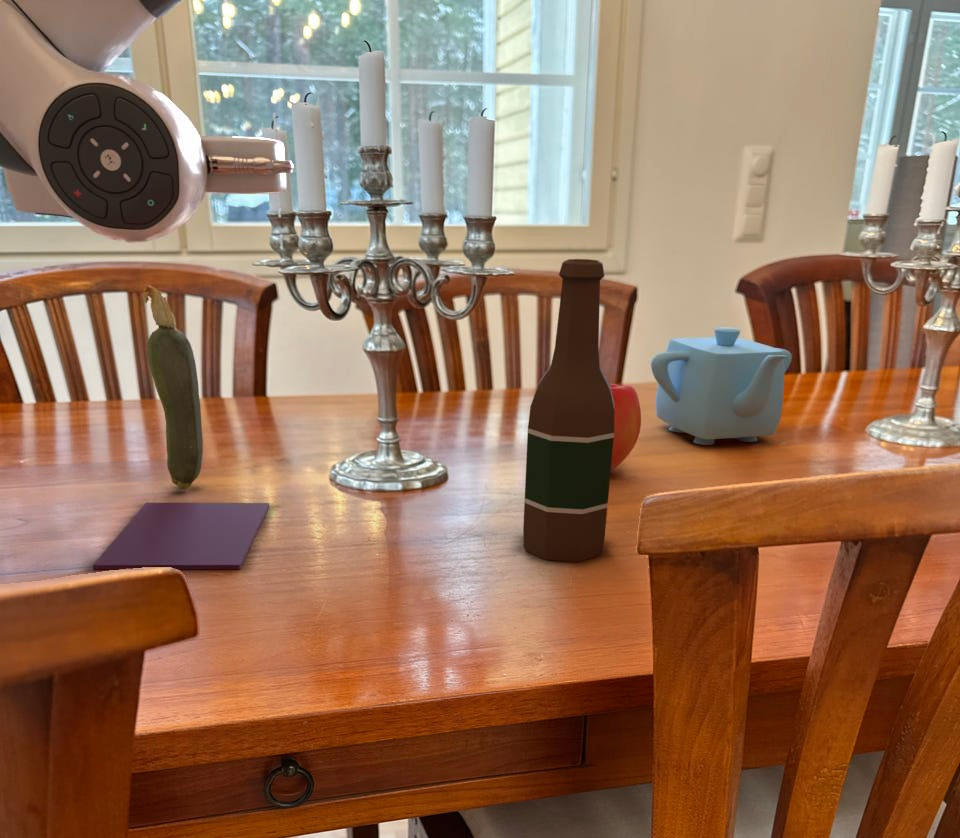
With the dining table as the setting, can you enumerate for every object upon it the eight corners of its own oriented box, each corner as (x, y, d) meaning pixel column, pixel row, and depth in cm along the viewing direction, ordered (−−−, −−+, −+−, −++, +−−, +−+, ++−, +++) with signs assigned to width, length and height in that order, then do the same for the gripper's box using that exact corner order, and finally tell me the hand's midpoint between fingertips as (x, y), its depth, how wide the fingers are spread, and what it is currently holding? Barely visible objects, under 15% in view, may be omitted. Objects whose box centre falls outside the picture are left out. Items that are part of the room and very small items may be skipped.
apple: (653, 471, 103) (663, 383, 98) (602, 488, 97) (610, 395, 92) (587, 454, 109) (594, 369, 104) (536, 469, 103) (540, 380, 98)
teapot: (628, 437, 116) (639, 328, 110) (675, 413, 129) (688, 314, 122) (767, 461, 108) (787, 345, 101) (804, 433, 120) (824, 328, 114)
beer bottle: (543, 526, 86) (559, 254, 75) (619, 542, 82) (647, 260, 71) (505, 551, 80) (515, 260, 69) (585, 570, 76) (609, 266, 65)
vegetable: (213, 483, 95) (189, 282, 86) (209, 496, 91) (183, 287, 82) (169, 485, 94) (140, 282, 85) (164, 498, 91) (133, 287, 81)
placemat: (93, 569, 74) (92, 565, 74) (146, 506, 88) (145, 502, 88) (239, 569, 75) (239, 564, 75) (269, 506, 89) (268, 502, 89)
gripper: (291, 115, 62) (283, 124, 74) (-32, 103, 57) (15, 115, 69) (298, 216, 65) (289, 209, 77) (-10, 211, 60) (32, 205, 72)
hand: (157, 164), depth 73 cm, fingers open, 8 cm apart
